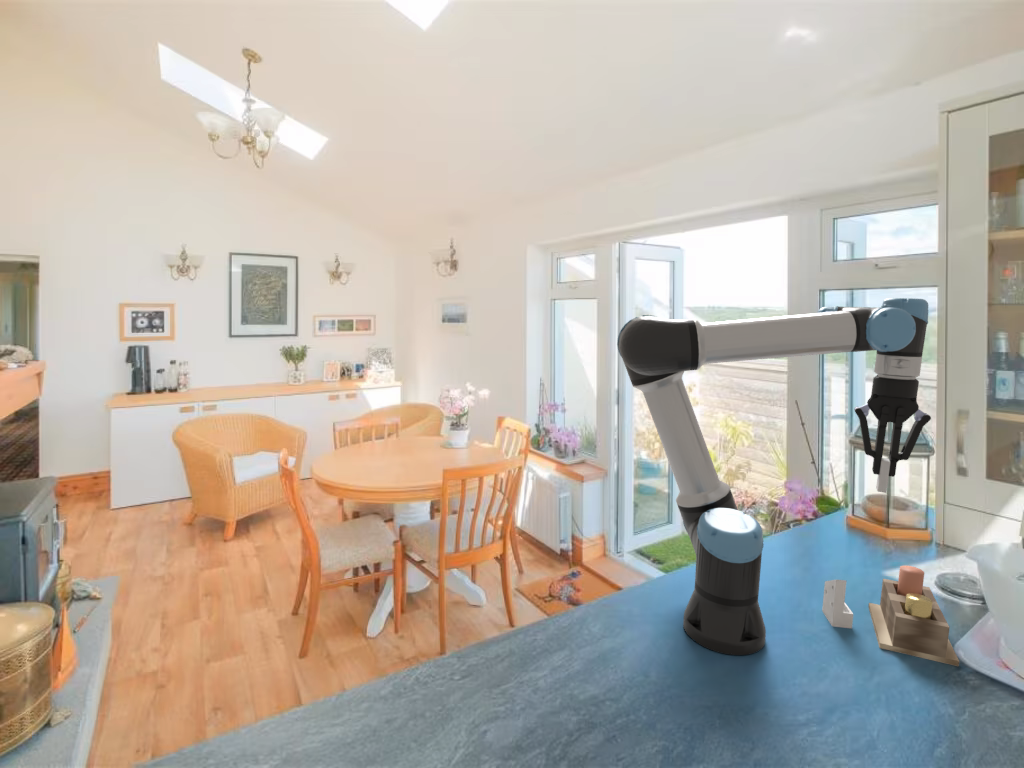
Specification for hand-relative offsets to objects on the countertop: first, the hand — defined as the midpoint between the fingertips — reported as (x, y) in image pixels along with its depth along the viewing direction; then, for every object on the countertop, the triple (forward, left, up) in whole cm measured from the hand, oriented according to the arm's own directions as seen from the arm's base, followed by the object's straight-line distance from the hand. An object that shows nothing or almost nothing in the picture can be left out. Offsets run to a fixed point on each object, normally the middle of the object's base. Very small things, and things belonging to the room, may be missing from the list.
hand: (881, 490), depth 114 cm
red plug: (+6, -2, -23) cm, 24 cm away
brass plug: (+6, -10, -25) cm, 28 cm away
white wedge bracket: (-6, -7, -27) cm, 28 cm away
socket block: (+6, -6, -27) cm, 28 cm away
